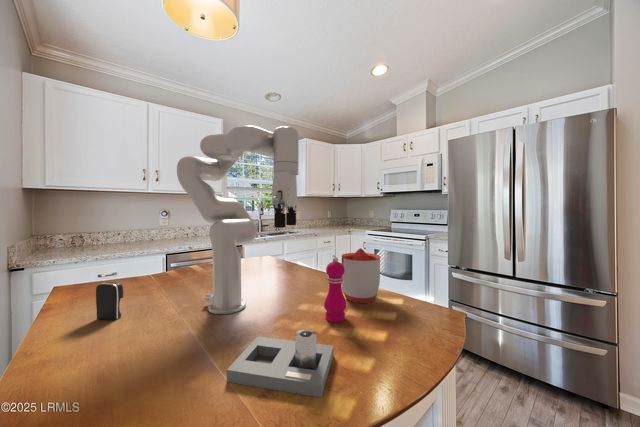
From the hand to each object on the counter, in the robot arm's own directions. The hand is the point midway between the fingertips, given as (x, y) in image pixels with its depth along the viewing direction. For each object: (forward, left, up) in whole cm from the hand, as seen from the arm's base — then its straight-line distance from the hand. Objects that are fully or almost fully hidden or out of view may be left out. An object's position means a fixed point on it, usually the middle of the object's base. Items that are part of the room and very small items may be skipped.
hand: (285, 226), depth 78 cm
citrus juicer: (+20, +28, -31) cm, 46 cm away
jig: (+7, -20, -30) cm, 37 cm away
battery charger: (-57, -8, -31) cm, 65 cm away
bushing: (+12, -20, -30) cm, 38 cm away
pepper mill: (+14, +8, -31) cm, 34 cm away
